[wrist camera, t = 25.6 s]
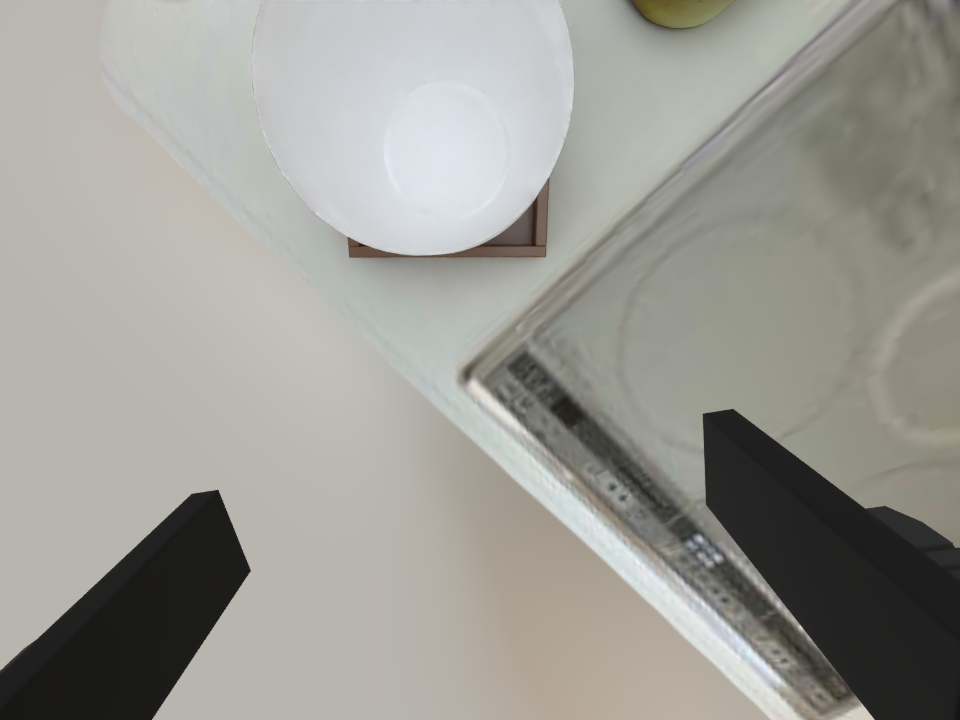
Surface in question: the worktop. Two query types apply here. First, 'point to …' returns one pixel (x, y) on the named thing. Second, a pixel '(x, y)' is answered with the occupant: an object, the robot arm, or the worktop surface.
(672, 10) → the mug
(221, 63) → the worktop surface
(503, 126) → the cup
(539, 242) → the tray
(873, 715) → the robot arm
